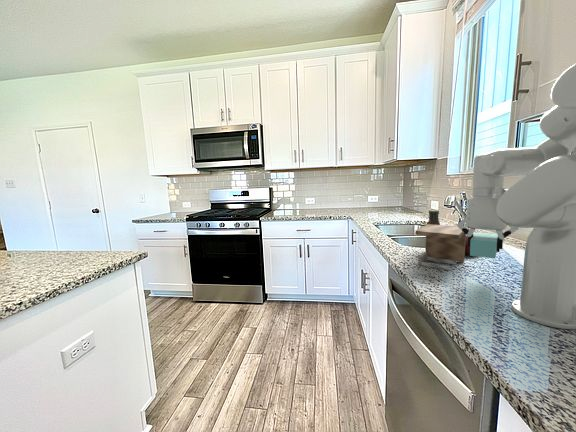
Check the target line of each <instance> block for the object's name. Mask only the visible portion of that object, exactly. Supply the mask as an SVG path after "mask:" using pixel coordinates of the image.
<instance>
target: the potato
mask: <svg viewBox="0 0 576 432" xmlns="http://www.w3.org/2000/svg"><path fill="white" fill-rule="evenodd" d="M464 256H470V246H468V236H467V235H466V240H465V255H464Z"/></svg>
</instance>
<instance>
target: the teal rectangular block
mask: <svg viewBox="0 0 576 432" xmlns="http://www.w3.org/2000/svg"><path fill="white" fill-rule="evenodd" d="M497 238H498V234H497V233H494V232H493V233H490V232H475V233H473V237H472V238H471V242H470V255H469V256H472V257H479V258H486V259H487V258H488V259H496V258H497V253H498V252H497Z"/></svg>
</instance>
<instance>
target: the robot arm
mask: <svg viewBox="0 0 576 432" xmlns="http://www.w3.org/2000/svg"><path fill="white" fill-rule="evenodd" d="M554 82H555V83H554V84H553V86H552V88H551V93H550V99H551V101H552V103H553V104H555V106H553V107H552V108H551V109H550V110H548V111H547V112H545V113H544V114H543V115H542V117H540V121H539V127H540V128H539V129H540V131H541V132H542V133H543V135H544V136H545V137H546V138H547V139H546V140H544V141H542V142H540V143H539V144H538V145H536V146H534V147H518V148H517V147H513V148H512V147H511V148H499V149H495V150H492V151H490V152H487V153H486V152H485V153H480V154H477V155H476V156H475V157H474V159H473V174H472V176H473V177H472V196H471V197H470V198H469V199H468V200H469V201H468V205H467V207H466V208H467V209H466V217H464V218H463V219H462V220H460V221H459V222H458V223H457V224H456V226H457V227H459V228H460V229H461V230H462V231H463V232H464V233H465V234H466V236H468V246H470V242H471V238H472V237H473V236H474V234H475V233H474V232H475V231H476V230H489V231H495V232H496V234H498V238H497V253H500V250H503V249H504V248H503V247H504V244H503V243H504V240H505V238H508V236H509V237H510V235H511V234H514V233H515V232H517V231H518V230H519V229H532V228H533V229H532V230H531V232H530V233H529V235H528V237H527V239H526V243H525V248H524V256H523V257H524V259H523V269H522V270H523V271H522V277H521V290H520V299H515V300H514V301H512V302H511V309H512V311H513V312H514V313H515V314H517V315H518V316H521V317H522V318H525V319H526V320H529V321H531V322H534V323H537V324H540V325H543V326H547V327H552V328H556V329H557V328H558V329H563V330H576V153H572V152H573V151H574V150H575V148H576V63H574V64H573V65H572V66H570V67H568V68H567V69H566V70H564V71H563V72H562V74H561V75H559V76H558V78H557V79H556V81H554ZM511 176H523V177H522V178H520V180H518V181H517V182H515V183H514V184H513V185H511V186H510V187H509V188H507V189H506V188H504V183H505V181H504V179H505V178H504V177H511ZM464 224H465V225H466V226H464ZM507 226H509V227H510V228H509V229H507ZM465 227H466V228H465ZM468 228H469V229H468ZM506 229H507V230H506ZM504 230H505V231H504ZM503 231H504V232H503Z"/></svg>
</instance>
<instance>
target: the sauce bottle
mask: <svg viewBox="0 0 576 432" xmlns="http://www.w3.org/2000/svg"><path fill="white" fill-rule="evenodd" d="M439 215H440V210H435V209H433V210H428V221H427V223H426V224H425V225H427V224H433V225H441V223H440V221H439ZM424 243H425V245H424V246H425V247H424V248H425V250H426V240H425V242H424Z"/></svg>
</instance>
